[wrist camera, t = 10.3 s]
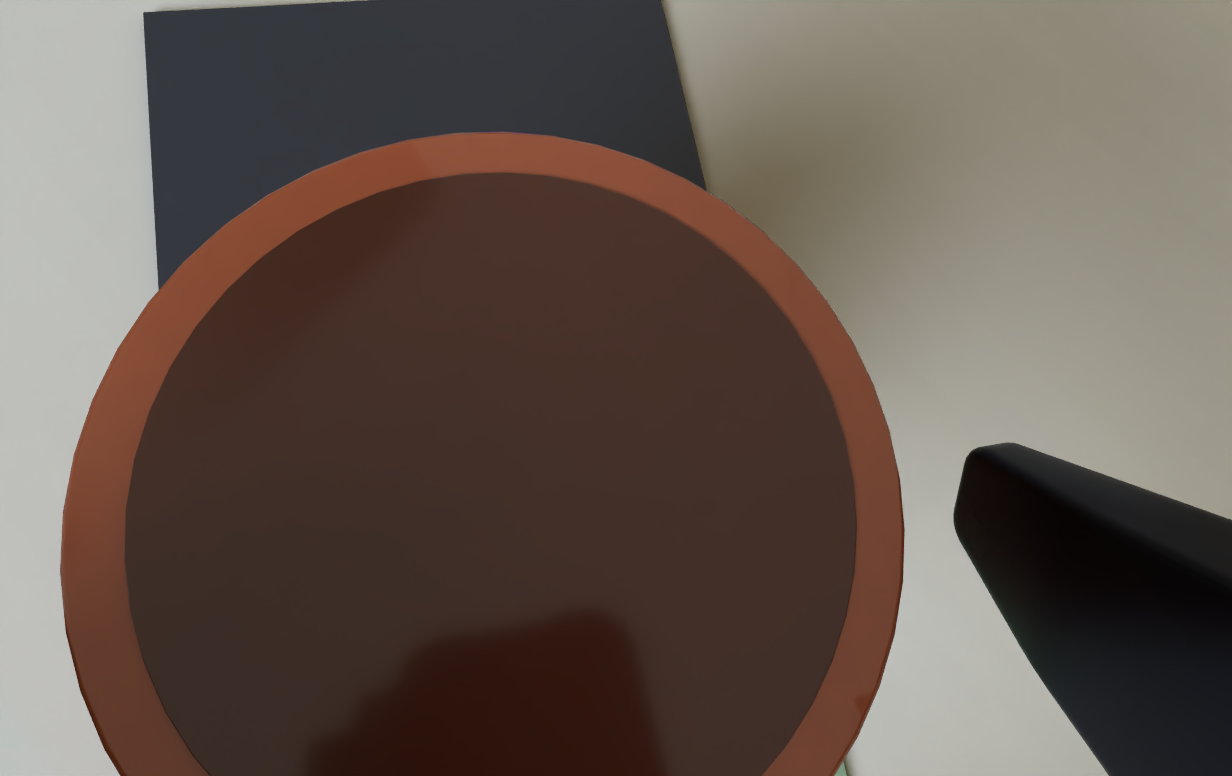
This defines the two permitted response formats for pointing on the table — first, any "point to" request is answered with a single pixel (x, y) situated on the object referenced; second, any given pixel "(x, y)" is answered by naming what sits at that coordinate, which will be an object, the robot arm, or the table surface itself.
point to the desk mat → (391, 92)
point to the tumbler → (483, 486)
